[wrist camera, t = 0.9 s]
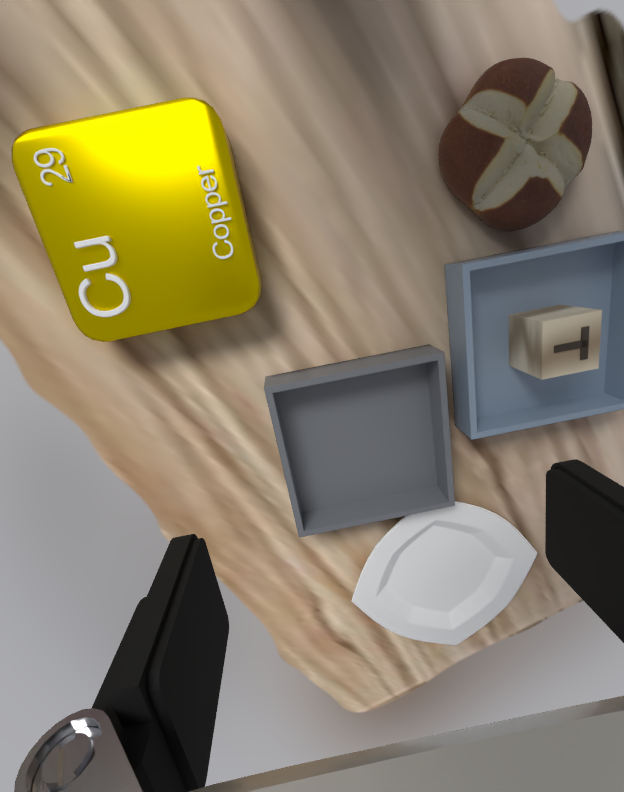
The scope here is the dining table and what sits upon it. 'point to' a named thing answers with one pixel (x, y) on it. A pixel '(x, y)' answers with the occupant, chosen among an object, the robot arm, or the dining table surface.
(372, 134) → the dining table surface
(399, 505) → the charcoal bin
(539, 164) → the bread
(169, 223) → the element tile
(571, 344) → the letter cube
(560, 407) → the slate bin
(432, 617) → the plate
